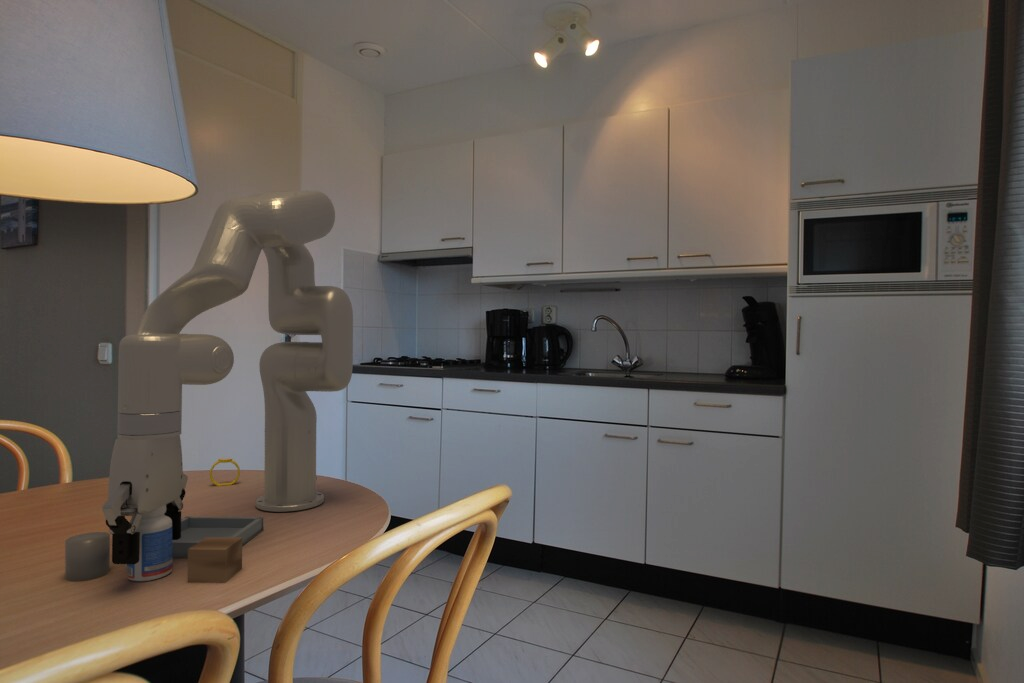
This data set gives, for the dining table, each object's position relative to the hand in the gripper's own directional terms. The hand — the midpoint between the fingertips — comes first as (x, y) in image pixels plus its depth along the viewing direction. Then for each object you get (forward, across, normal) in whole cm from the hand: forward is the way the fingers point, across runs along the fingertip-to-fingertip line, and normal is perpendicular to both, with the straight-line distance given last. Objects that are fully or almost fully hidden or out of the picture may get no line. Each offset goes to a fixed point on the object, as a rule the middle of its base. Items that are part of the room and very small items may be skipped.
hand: (148, 550), depth 83 cm
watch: (+3, -51, -14) cm, 53 cm away
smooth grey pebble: (+3, 0, -8) cm, 9 cm away
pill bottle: (+4, 0, 0) cm, 4 cm away
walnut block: (+4, 0, +9) cm, 10 cm away
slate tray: (+3, -13, +1) cm, 14 cm away
